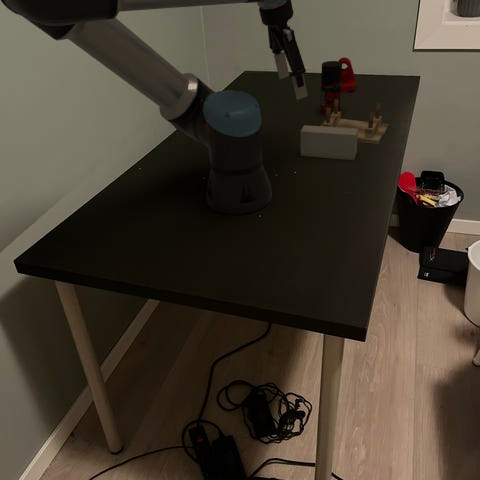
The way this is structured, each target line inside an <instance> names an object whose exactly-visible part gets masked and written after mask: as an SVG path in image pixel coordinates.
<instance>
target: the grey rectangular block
mask: <svg viewBox="0 0 480 480" xmlns="http://www.w3.org/2000/svg"><path fill="white" fill-rule="evenodd" d="M357 139H358V129H354V128H338V127H322V126H321V125H320V126H319V125H303V126H302V128H301V130H300V156H301V157H311V158H324V159H334V160H335V159H336V160H346V161H347V160H348V161H355V158H356V155H357V153H358V152H357V149H358V142H357Z"/></svg>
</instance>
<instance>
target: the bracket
mask: <svg viewBox="0 0 480 480" xmlns="http://www.w3.org/2000/svg"><path fill="white" fill-rule="evenodd" d="M338 61H339V62H341V63H342V65H346V67H345V68H343V67H342V77H341V93H342V94H343V93H349V92H354V91H355V90H356V85H357V79H356V76H355V72H354V70H353V65H352V62H351V60H350V59H349V58H348V57H344V56H343V57H341V58H339V60H338Z"/></svg>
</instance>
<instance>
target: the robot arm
mask: <svg viewBox="0 0 480 480" xmlns="http://www.w3.org/2000/svg"><path fill="white" fill-rule="evenodd" d="M0 2H1V3H2V4H3V6H5V8H7V9H8V10H9V11H11V13H14V14H16V15H19V16H21V17H23V18H24V19H25V20H27V21H28V22H29V23H31V24H32V25H34V26H35V27H36V28H38V29H39V30H41V31H42V32H44V33H45V34H46V35H47V36H49V37H51V38H52V39H53V40H55V41H64V40H69V41H70V42H72V43H73V44H74V45H75V46H77V47H78V48H79V49H81V50H82V51H84V52H85V53H87V54H88V55H90V57H92V58H93V59H95V60H96V61H97V62H98V63H100V64H101V65H103V66H104V67H105V68H107V70H109V71H111V72H112V73H114V74H115V75H117V76H118V77H119V78H120V79H122V80H123V81H125V82H126V83H127V84H128V85H130V86H131V87H133V89H135V90H137V91H138V92H139V93H140V94H141V95H144V96H145V98H147V99H148V100H150V101H151V102H153V103H154V104H155V105H156V106H158V108H159V114H160V116H161V117H162V118H163V119H164V120H166V122H168V123H170V124H171V125H172V127H174V129H176V131H178V132H180V133H181V134H182V135H183V134H184V135H186V136H187V137H190V138H191V139H193V140H194V141H196V142H198V143H200V144H201V145H203V146H204V147H207V148H208V154H209V155H208V156H209V163H210V172H209V178H208V181H207V186H206V192H205V193H206V201H207V204H208V206H209V207H210V208H212V209H213V210H215V211H217V212H219V213H222V214H226V215H227V214H228V215H243V214H249V213H252V212H256V211H259V210H261V209H262V208H265V207H266V206H267V205H268V204H269V203H270V202H271V200H272V197H273V192H272V189H273V188H272V184H271V181H270V180H269V177H268V174H267V171H266V170H265V167H264V163H263V161H264V160H263V159H264V158H263V144H262V143H263V140H262V115H261V109H260V104H259V102H258V101H257V99H256V98H255V97H254V96H252V94H250V93H248V92H244V91H240V90H237V91H234V89H233V90H232V89H231V90H230V89H225V90H220V91H214V90H213V89H212V88H210V87H209V85H207V84H206V83H204V82H203V81H202V80H201V79H200V78H199V77H197V76H196V75H195V74H193V73H191V72H185V73H182V72H181V71H179V70H178V69H177V68H176V67H175V66H174V65H172V64H171V63H170V62H169V61H168V60H167V59H166V58H164V57H163V56H162V55H161V54H159V53H158V52H157V51H156V50H154V49H153V48H152V47H151V46H150V45H149V44H147V42H145V41H144V40H142V39H141V38H140V37H139V36H138V35H136V34H135V32H133V31H132V30H131V29H130V28H128V26H126V25H125V24H123V22H121V20H120V19H118V18H117V17H118V16H119V13H120V12H132V11H133V12H134V11H147V10H148V11H149V10H159V9H175V8H187V7H188V8H190V7H202V6H203V7H206V6H218V5H229V4H231V5H234V4H250V3H251V4H254V3H257V7H259V9H258V11H259V14H260V19H261V23H262V24H263V26H266V27H267V34H268V44H269V49H270V50H271V52H272V54H273V58H274V62H275V66H276V71H277V75H278V79H279V80H282V79H285V78H287V77H290V78H291V80H292V84H293V88H294V95H295V97H296V100H301V99H303V98H305V97H308V90H307V85H306V82H305V75H304V74H305V73H307V71H306V70H307V69H306V68H305V64H304V61H303V58H302V54H301V52H300V48H299V45H298V43H297V39H296V35H295V30H294V29H293V28H291V26H290V25H289V24H288V22H289V21H290V20H291V19H292V18H293V16H294V9H293V4H292V0H0ZM288 66H289V67H288ZM289 69H290V71H291V73H290V72H289Z"/></svg>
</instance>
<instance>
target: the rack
mask: <svg viewBox="0 0 480 480" xmlns="http://www.w3.org/2000/svg"><path fill="white" fill-rule="evenodd" d="M338 102H339V100H338V99H335V100H334V112H333V113H332V114H331V115H330V113H331V108H326V116H325V121H324V122H323V123H322V124H320V126H322V127H338V128H354V129H358V139H357V143H363V144H372V145H379V144H380V142H381V141H382V138H383V137H384V136H385V134H386V132H387V131H388V130H389V126H390V124H389V123H382V118H383V116H382V115H380V113H381V105H382V104H381V103H379V102H378V103H376V104H375V111H374V112H372V111H371V112H369V116H368V121H363V120H355V119H346V118H341V115H342V112H341V111H340V112H338Z"/></svg>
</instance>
